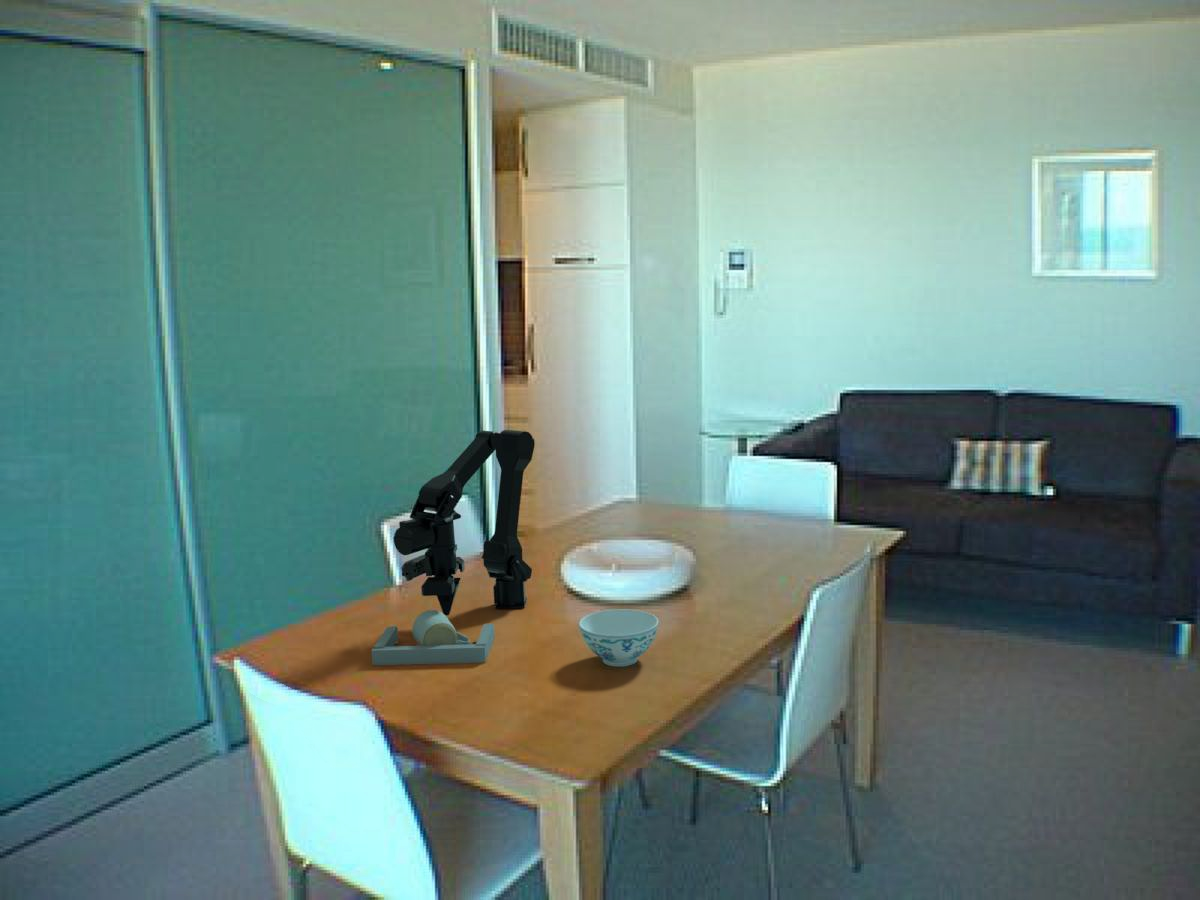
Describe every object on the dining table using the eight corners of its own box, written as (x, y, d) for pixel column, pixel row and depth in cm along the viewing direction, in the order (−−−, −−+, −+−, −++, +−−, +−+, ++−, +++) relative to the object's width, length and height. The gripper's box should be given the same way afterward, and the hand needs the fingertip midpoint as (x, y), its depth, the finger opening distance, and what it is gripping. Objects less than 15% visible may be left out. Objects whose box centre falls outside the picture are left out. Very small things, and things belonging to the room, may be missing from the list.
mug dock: (494, 637, 223) (494, 623, 222) (485, 662, 209) (484, 647, 208) (388, 640, 223) (387, 626, 223) (372, 665, 210) (371, 650, 209)
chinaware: (567, 656, 210) (565, 618, 209) (633, 641, 217) (632, 604, 216) (605, 681, 197) (603, 640, 196) (674, 663, 204) (673, 624, 203)
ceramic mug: (424, 661, 211) (422, 623, 209) (412, 648, 218) (410, 612, 217) (476, 652, 215) (474, 615, 214) (463, 640, 222) (461, 604, 221)
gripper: (411, 533, 235) (416, 602, 238) (393, 557, 216) (399, 631, 219) (462, 531, 234) (467, 600, 237) (448, 555, 216) (454, 629, 219)
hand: (446, 614), depth 228 cm, fingers closed
